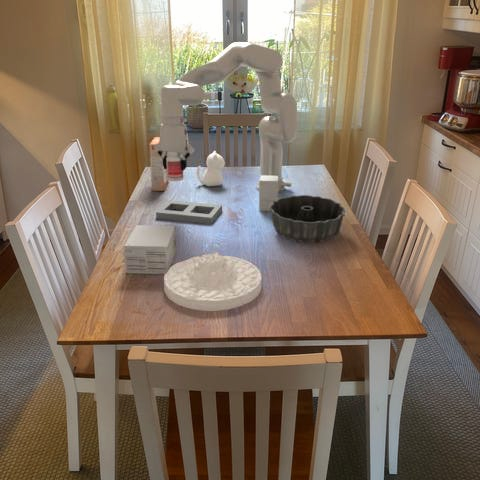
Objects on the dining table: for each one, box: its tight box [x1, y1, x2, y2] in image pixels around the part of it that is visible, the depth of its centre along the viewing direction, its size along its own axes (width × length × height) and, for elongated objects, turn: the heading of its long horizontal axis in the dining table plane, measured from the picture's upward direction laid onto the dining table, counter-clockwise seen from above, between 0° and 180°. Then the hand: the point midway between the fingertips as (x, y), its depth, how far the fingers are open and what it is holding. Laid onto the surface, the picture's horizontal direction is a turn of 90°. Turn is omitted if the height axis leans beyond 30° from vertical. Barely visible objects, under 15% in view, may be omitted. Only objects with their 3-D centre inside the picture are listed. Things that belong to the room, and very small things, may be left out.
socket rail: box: [155, 200, 223, 225], centre depth 203 cm, size 22×14×2 cm, turn 76°
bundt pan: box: [270, 194, 346, 244], centre depth 185 cm, size 26×26×10 cm
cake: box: [163, 251, 262, 312], centre depth 150 cm, size 28×28×10 cm
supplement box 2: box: [258, 175, 279, 212], centre depth 208 cm, size 7×7×13 cm
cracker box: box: [149, 136, 170, 192], centre depth 231 cm, size 14×6×21 cm, turn 179°
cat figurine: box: [196, 150, 226, 187], centre depth 235 cm, size 9×12×15 cm
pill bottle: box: [166, 152, 184, 182], centre depth 197 cm, size 6×6×11 cm
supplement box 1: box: [123, 224, 177, 275], centre depth 164 cm, size 17×13×9 cm
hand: (174, 168), depth 198 cm, fingers closed on pill bottle, 6 cm apart
